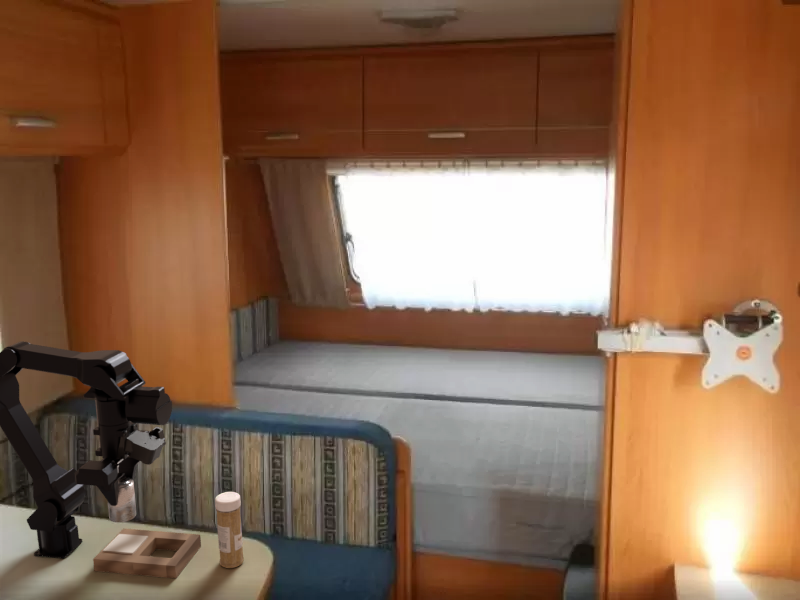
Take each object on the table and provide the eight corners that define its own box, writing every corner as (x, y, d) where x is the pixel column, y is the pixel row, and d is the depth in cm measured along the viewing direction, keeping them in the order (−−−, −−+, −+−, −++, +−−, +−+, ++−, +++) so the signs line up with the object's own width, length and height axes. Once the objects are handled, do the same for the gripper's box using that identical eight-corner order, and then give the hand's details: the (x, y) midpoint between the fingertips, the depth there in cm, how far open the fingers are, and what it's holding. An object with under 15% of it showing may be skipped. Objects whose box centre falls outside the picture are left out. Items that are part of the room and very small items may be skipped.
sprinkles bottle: (247, 564, 142) (244, 498, 139) (224, 572, 140) (220, 504, 137) (238, 553, 146) (234, 488, 143) (215, 560, 144) (211, 494, 141)
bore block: (94, 571, 140) (92, 557, 140) (124, 539, 151) (123, 527, 150) (176, 578, 138) (175, 564, 137) (201, 546, 149) (200, 533, 148)
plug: (104, 521, 141) (100, 486, 140) (117, 508, 146) (114, 475, 145) (128, 523, 141) (125, 488, 139) (141, 510, 145) (138, 476, 144)
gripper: (129, 443, 129) (137, 527, 132) (178, 404, 147) (183, 479, 150) (69, 439, 131) (77, 522, 134) (124, 401, 149) (130, 475, 152)
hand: (121, 498), depth 143 cm, fingers closed on plug, 5 cm apart
